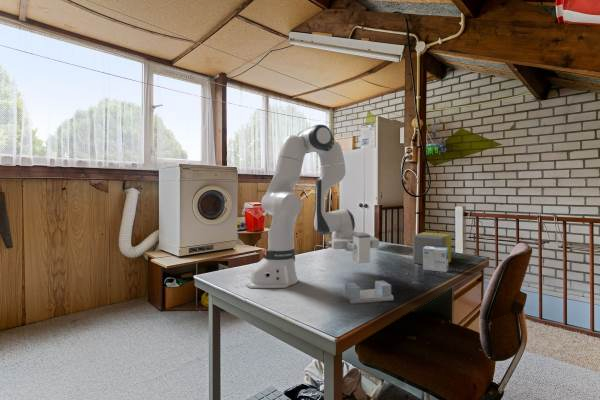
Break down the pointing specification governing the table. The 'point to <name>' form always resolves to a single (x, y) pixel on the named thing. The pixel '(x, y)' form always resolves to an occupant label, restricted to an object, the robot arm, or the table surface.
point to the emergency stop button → (429, 244)
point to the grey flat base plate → (368, 297)
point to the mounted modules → (380, 287)
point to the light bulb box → (435, 258)
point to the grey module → (361, 247)
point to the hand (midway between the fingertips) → (361, 246)
